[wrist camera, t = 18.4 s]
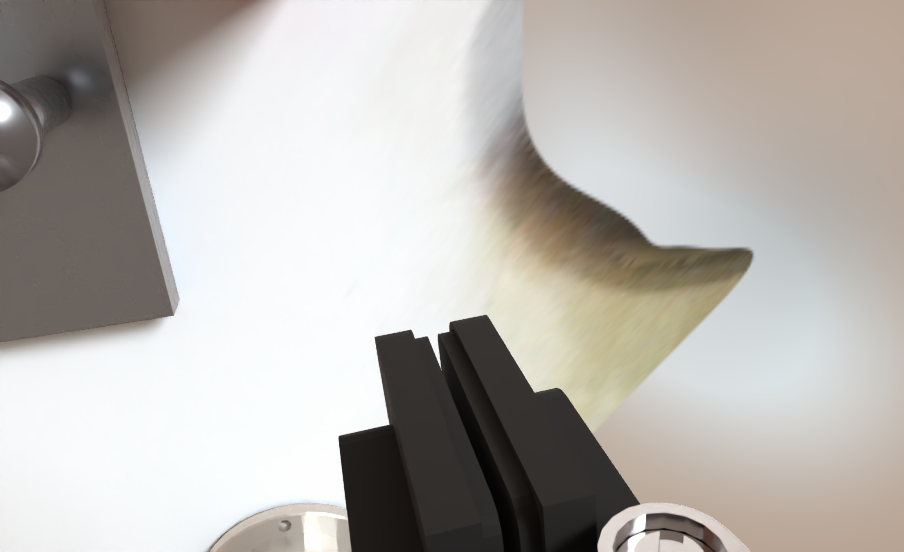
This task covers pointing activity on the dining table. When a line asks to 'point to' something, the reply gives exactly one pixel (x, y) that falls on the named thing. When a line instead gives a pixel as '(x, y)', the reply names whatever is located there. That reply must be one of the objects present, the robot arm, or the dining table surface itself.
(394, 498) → the robot arm
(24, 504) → the dining table surface
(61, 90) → the press bed
